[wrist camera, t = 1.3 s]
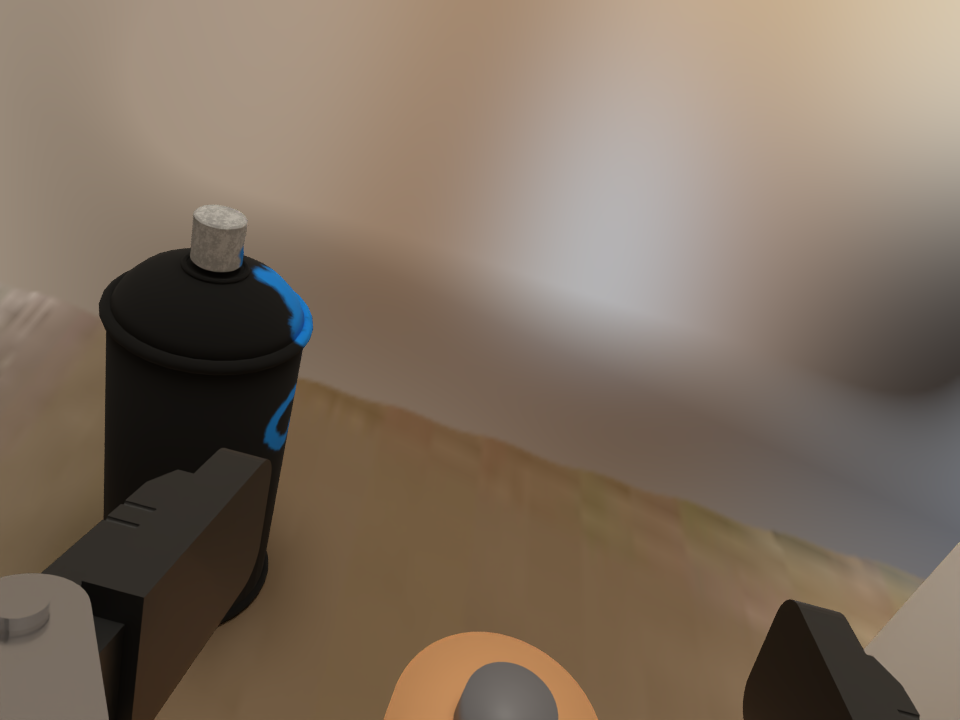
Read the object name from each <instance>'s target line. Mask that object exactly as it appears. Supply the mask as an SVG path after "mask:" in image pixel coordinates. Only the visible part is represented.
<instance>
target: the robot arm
mask: <svg viewBox="0 0 960 720" xmlns="http://www.w3.org/2000/svg"><path fill="white" fill-rule="evenodd" d="M271 470H272V467H271V462H270V460H268V459H264V458H261V457H257V456H253V455H249V454H245V453H242V452H238V451H234V450H230V449H227V448H221V449H219V450H218V451H217V452H216V453H215V454H214V455H213V456H212V457H211V458H209V459H208V460H207V461H206V462H205V463H204V464H203V465H202V466H201V467H200V468H199V469H198V470H197V471H196V472H195V473H194V474H193V473H189V472H186V471H182V470H175V471H173V472H170V473H168V474H165V475H163V476H160V477H157V478H155V479H152V480H150V481H147V482H146V483H145V484H143V485H142V486H141V487H140V488H139V489H138V490H136V491H135V492H134V493H133V494H132V495H131V496H130V497H128V498H127V499H126V500H125V503H124V505H123V504H120V505H119V506H118V507H117V508H116V509H115V510H113V511H112V512H111V513H110V514H109V515H108V516H107V519H106V520H102V521H101V522H100V523H98V524H97V525H96V526H95V527H94V528H93V529H91V530H90V531H89V532H88V533H87V534H86V535H85V536H83V537H82V538H81V539H80V540H79V541H78V542H77V543H75V544H74V545H73V546H72V547H71V548H70V549H68V550H67V551H66V552H65V553H64V554H63V555H62V556H60V557H59V558H58V559H57V560H56V561H55V562H53V563H52V564H51V565H50V566H49V567H48V568H47V569H45V570H44V571H43V572H42V573H41V574H38V573H28V574H16V575H10V576H5V577H1V578H0V720H154V718H155V717H156V715H157V714H158V712H159V711H160V710H161V708H162V707H163V705H164V704H165V702H166V701H167V699H168V698H169V696H170V695H171V693H172V692H173V691H174V689H175V688H176V686H177V685H178V683H179V682H180V680H181V679H182V677H183V676H184V674H185V673H186V672H187V670H188V669H189V667H190V666H191V664H192V663H193V661H194V660H195V658H196V657H197V656H198V654H199V653H200V651H201V650H202V648H203V647H204V645H205V644H206V642H207V641H208V639H209V638H210V637H211V635H212V634H213V632H214V631H215V629H216V628H217V626H218V625H219V623H220V622H221V620H222V619H223V618H224V616H225V615H226V613H227V612H228V610H229V609H230V607H231V606H232V604H233V603H234V602H235V600H236V599H237V597H238V596H239V594H240V593H241V591H242V590H243V588H244V587H245V585H246V583H247V582H248V580H249V577H250V575H251V573H252V571H253V568H254V565H255V562H256V559H257V556H258V552H259V548H260V542H261V536H262V529H263V523H264V517H265V511H266V504H267V498H268V492H269V485H270V479H271ZM919 717H920V714H919V713H918V711H917V709H916V708H915V706H914V704H913V703H912V701H911V699H910V698H909V696H908V694H907V693H906V691H905V689H904V688H903V686H902V685H901V684H900V683H899V682H898V681H897V680H896V679H895V678H894V677H893V676H892V675H891V674H890V673H889V672H888V671H887V670H886V669H885V668H884V667H883V666H882V665H881V664H880V663H879V662H878V661H877V660H876V659H875V658H874V657H873V656H871V655H867V654H866V653H865V651H864V650H863V648H862V646H861V644H860V643H859V641H858V639H857V637H856V635H855V634H854V632H853V630H852V628H851V626H850V625H849V623H848V621H847V619H846V618H845V616H844V615H843V614H841V613H839V612H836V611H833V610H829V609H825V608H821V607H818V606H814V605H810V604H806V603H803V602H799V601H795V600H786V601H785V602H784V603H783V604H782V605H781V606H780V608H779V610H778V612H777V614H776V616H775V618H774V620H773V623H772V625H771V627H770V630H769V632H768V634H767V636H766V639H765V641H764V643H763V645H762V648H761V650H760V652H759V655H758V657H757V659H756V661H755V664H754V666H753V668H752V671H751V673H750V675H749V678H748V680H747V683H746V687H745V691H744V698H743V718H744V720H920V719H919Z"/></svg>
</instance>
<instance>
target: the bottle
mask: <svg viewBox="0 0 960 720" xmlns="http://www.w3.org/2000/svg"><path fill="white" fill-rule="evenodd" d="M864 651H865V653H866V654H867V655H871V656H873V657H874V658H875V659H876V660H877V661H878V662H879V663H880V664H881V665H882V666H883V667H884V668H885V669H886V670H887V671H888V672H889V673H890V674H891V675H892V676H893V677H894V678H895V679H896V680H897V681H898V682H899V683H900V684H901V685H902V686H903V688H904V689H905V691H906V693H907V694H908V696H909V698H910V699H911V701H912V703H913V704H914V706H915V708H916V709H917V711H918V713H919V714H920V717H919V719H920V720H960V542H959V543H958V544H957V545H956V546H955V548H954V549H953V550H952V551H951V552H950V553H949V554H948V555H947V557H946V558H945V559H944V560H943V561H942V562H941V563H940V565H939V566H938V567H937V568H936V569H935V570H934V571H933V572H932V573H931V575H930V576H929V577H928V578H927V579H926V580H925V581H924V582H923V583H922V585H921V586H920V587H919V588H918V589H917V590H916V591H915V592H914V594H913V595H912V596H911V597H910V598H909V599H908V600H907V601H906V603H905V604H904V605H903V606H902V607H901V608H900V609H899V610H898V612H897V613H896V614H895V615H894V616H893V617H892V618H891V619H890V621H889V622H888V623H887V624H886V625H885V626H884V627H883V628H882V630H881V631H880V632H879V633H878V634H877V635H876V636H875V637H874V638H873V640H872V641H871V642H870V643H869V644H868V645H867V646H866V647H865V649H864Z"/></svg>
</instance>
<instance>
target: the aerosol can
mask: <svg viewBox="0 0 960 720" xmlns="http://www.w3.org/2000/svg"><path fill="white" fill-rule="evenodd" d="M247 222H248V220H247V218H246V217H245V215H244V214H242V213H241V212H240V211H238V210H236V209H233V208H230V207H227V206H221V205H206V206H202V207H199V208H198V209H196V210H195V211H194V214H193V228H192V239H191V248H187V249H186V248H185V249H177V250H171V251H167V252H163V253H159V254H157V255H155V256H152V257H150V258H148V259H147V260H145V261H144V262H142V263H140V264H139V265H137V266H136V267H134V268H133V269H131V270H130V271H127V272H125V273H123V274H122V275H120V276H119V277H117V278H116V279H115V280H113V281H112V282H111V283H110V284H109V285H108V286H107V288H106V289H105V290H104V292H103V295H102V297H101V300H100V302H99V316H100V318H101V321H102V323H103V325H104V327H105V330H106V389H105V462H104V520H106V519H107V516H108V515H109V514H110V513H111V512H112V511H113V510H115V509H116V508H117V507H118V506H119V505H120V504H123V505H124V503H125V500H126V499H127V498H128V497H130V496H131V495H132V494H133V493H134V492H135V491H136V490H138V489H139V488H140V487H141V486H142V485H143V484H145V483H146V482H147V481H150V480H152V479H155V478H157V477H160V476H163V475H165V474H168V473H170V472H173V471H175V470H182V471H186V472H189V473H193V474H194V473H195V472H196V471H197V470H198V469H199V468H200V467H201V466H202V465H203V464H204V463H205V462H206V461H207V460H208V459H209V458H211V457H212V456H213V455H214V454H215V453H216V452H217V451H218V450H219V449H221V448H227V449H230V450H234V451H238V452H242V453H245V454H249V455H253V456H257V457H261V458H264V459H268V460H270V462H271V467H272V470H271V479H270V485H269V492H268V498H267V504H266V511H265V517H264V523H263V529H262V536H261V542H260V548H259V552H258V556H257V559H256V562H255V565H254V568H253V571H252V573H251V575H250V577H249V580H248V582H247V583H246V585H245V587H244V588H243V590H242V591H241V593H240V594H239V596H238V597H237V599H236V600H235V602H234V603H233V604H232V606H231V607H230V609H229V610H228V612H227V613H226V615H225V616H224V618H223V619H222V620H221V622H220V623H219V624H221V623H223V622H224V621H226V620H228V619H230V618H232V617H234V616H236V615H237V614H238V613H239V612H241V611H242V610H243V609H245V608H246V607H247V606H248V605H249V604H250V603H251V602H252V601H253V599H254V598H255V597H256V596H257V595H258V593H259V591H260V589H261V588H262V586H263V584H264V582H265V578H266V575H267V571H268V556H267V551H266V548H267V543H268V537H269V532H270V526H271V521H272V515H273V510H274V504H275V499H276V493H277V488H278V482H279V477H280V471H281V466H282V460H283V455H284V449H285V444H286V438H287V433H288V427H289V422H290V416H291V411H292V405H293V400H294V394H295V389H296V383H297V378H298V372H299V367H300V361H301V356H302V350H303V348H304V347H305V346H306V344H307V343H308V342H309V340H310V337H311V333H312V331H313V321H312V315H311V313H310V311H309V308H308V306H307V305H306V303H305V302H304V301H303V300H302V298H301V297H300V296H299V295H298V294H297V293H296V292H294V291H293V290H292V288H291V287H290V286H289V285H288V284H287V283H286V282H285V280H284V279H282V278H281V276H280V275H278V274H277V273H276V272H275V271H274V270H273V269H271V268H270V267H268V266H266V265H265V264H263V263H261V262H259V261H257V260H254V259H252V258H250V257H247V256H244V254H243V253H244V251H243V247H244V246H243V245H244V241H245V236H246V230H247Z"/></svg>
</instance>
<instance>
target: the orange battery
mask: <svg viewBox="0 0 960 720" xmlns="http://www.w3.org/2000/svg"><path fill="white" fill-rule="evenodd" d="M384 720H598V718H597V716H596V714H595V712H594V709H593V707H592V705H591V703H590V702H589V700H588V698H587V696H586V695H585V693H584V692H583V690H582V689H581V688H580V686H579V685H578V683H577V682H576V681H575V680H574V679H573V678H572V676H571V675H570V674H569V673H568V672H567V671H566V670H565V669H564V668H563V667H562V666H561V665H560V664H558V663H557V662H556V661H555V660H553V659H552V658H551V657H550V656H548V655H547V654H545V653H544V652H542V651H541V650H539V649H537V648H536V647H534V646H532V645H530V644H528V643H526V642H524V641H521V640H518V639H516V638H513V637H510V636H506V635H502V634H497V633H489V632H467V633H460V634H456V635H451V636H448V637H446V638H443V639H440V640H438V641H436V642H434V643H433V644H431V645H429V646H427V647H426V648H425V649H423V650H422V651H421V652H420V653H418V654H417V655H416V656H415V657H414V658H413V659H412V660H411V661H410V663H409V664H408V665H407V667H406V668H405V670H404V671H403V672H402V674H401V676H400V678H399V680H398V682H397V684H396V687H395V690H394V692H393V695H392V698H391V701H390V703H389V706H388V709H387V711H386V714H385V717H384Z"/></svg>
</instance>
